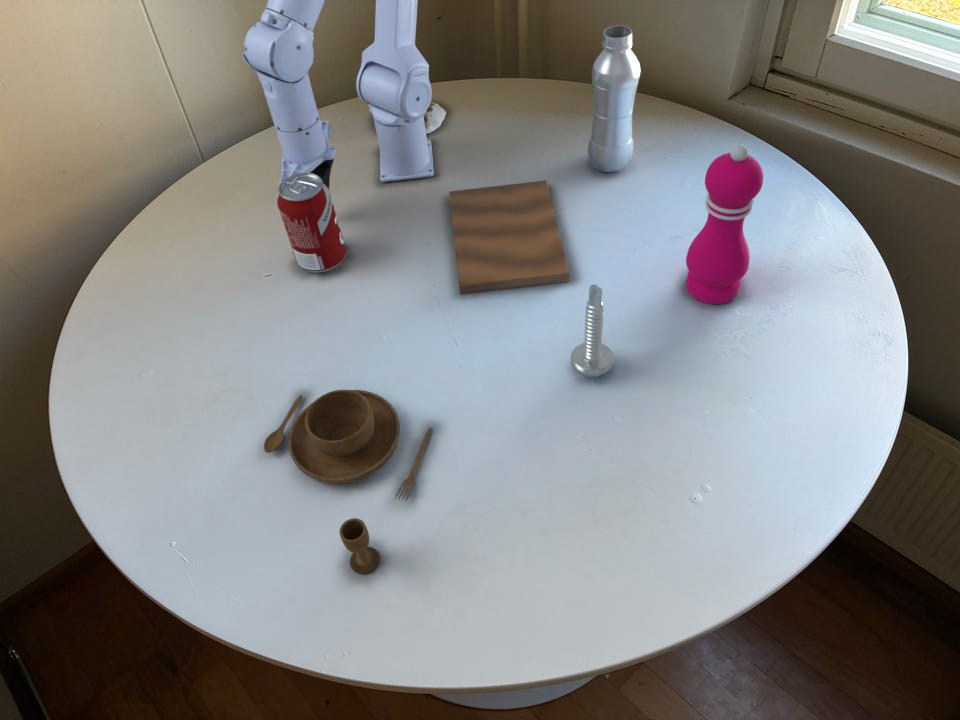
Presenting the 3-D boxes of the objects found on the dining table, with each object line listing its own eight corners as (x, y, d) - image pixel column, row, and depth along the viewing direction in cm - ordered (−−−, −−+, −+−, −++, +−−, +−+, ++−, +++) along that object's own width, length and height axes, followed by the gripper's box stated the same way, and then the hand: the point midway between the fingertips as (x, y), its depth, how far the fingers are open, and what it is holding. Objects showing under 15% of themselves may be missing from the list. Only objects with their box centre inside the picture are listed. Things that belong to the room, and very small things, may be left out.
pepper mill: (743, 310, 91) (778, 167, 76) (680, 305, 93) (704, 163, 78) (741, 270, 96) (775, 128, 81) (682, 265, 97) (705, 125, 82)
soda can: (322, 283, 100) (299, 208, 91) (287, 264, 103) (261, 191, 94) (357, 254, 104) (338, 180, 95) (322, 237, 107) (301, 164, 98)
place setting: (442, 413, 84) (436, 379, 80) (378, 578, 72) (367, 548, 67) (298, 388, 88) (285, 353, 84) (214, 540, 76) (193, 509, 72)
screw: (570, 353, 89) (613, 354, 88) (569, 385, 86) (613, 387, 85) (572, 269, 79) (619, 270, 79) (571, 301, 76) (620, 302, 75)
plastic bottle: (578, 161, 114) (582, 29, 99) (617, 147, 116) (626, 15, 101) (601, 183, 110) (608, 48, 95) (641, 168, 112) (654, 34, 97)
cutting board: (450, 200, 110) (448, 191, 109) (546, 188, 110) (546, 180, 109) (459, 294, 97) (458, 285, 96) (569, 281, 97) (569, 272, 96)
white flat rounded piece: (450, 133, 122) (448, 111, 119) (376, 143, 122) (371, 122, 119) (443, 97, 130) (440, 75, 127) (373, 107, 129) (369, 85, 126)
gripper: (307, 153, 92) (332, 242, 102) (343, 91, 101) (362, 178, 111) (252, 151, 93) (282, 239, 103) (293, 90, 102) (317, 175, 112)
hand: (321, 207), depth 107 cm, fingers closed
